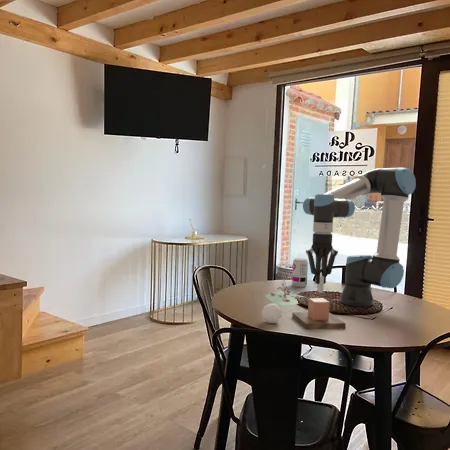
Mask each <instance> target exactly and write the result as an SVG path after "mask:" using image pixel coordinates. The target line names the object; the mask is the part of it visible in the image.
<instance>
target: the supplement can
mask: <svg viewBox="0 0 450 450" xmlns="http://www.w3.org/2000/svg"><path fill="white" fill-rule="evenodd" d="M308 268H309V260H308V259H307V258H300V257H298V258H297V257H296V258H294V259H293V261H292V278H291V286H293V287H295V288H296V287H297V288H306V287H307V286H308Z"/></svg>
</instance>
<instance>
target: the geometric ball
mask: <svg viewBox="0 0 450 450" xmlns="http://www.w3.org/2000/svg"><path fill="white" fill-rule="evenodd" d="M282 313H283V311H282V309H281V308H280V305H276V304H275V303H268V304H266V305H264V307H263V308H262V310H261V317H262V318H263V320H264V321H265V322H267V323H268V324H276V323H278V322H279V321H280V320H281V319H282V316H283V315H282Z"/></svg>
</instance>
